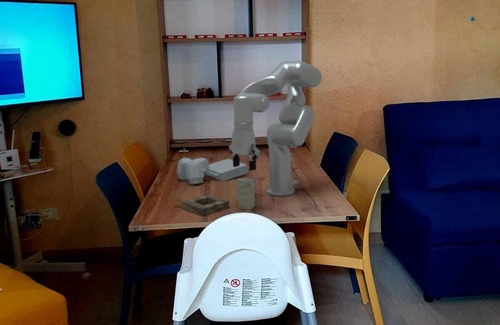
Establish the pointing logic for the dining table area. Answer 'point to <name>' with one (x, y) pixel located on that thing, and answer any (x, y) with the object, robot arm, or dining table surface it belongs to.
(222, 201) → the socket stand
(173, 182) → the dining table surface
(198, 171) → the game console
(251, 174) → the dining table surface
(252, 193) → the skincare box
